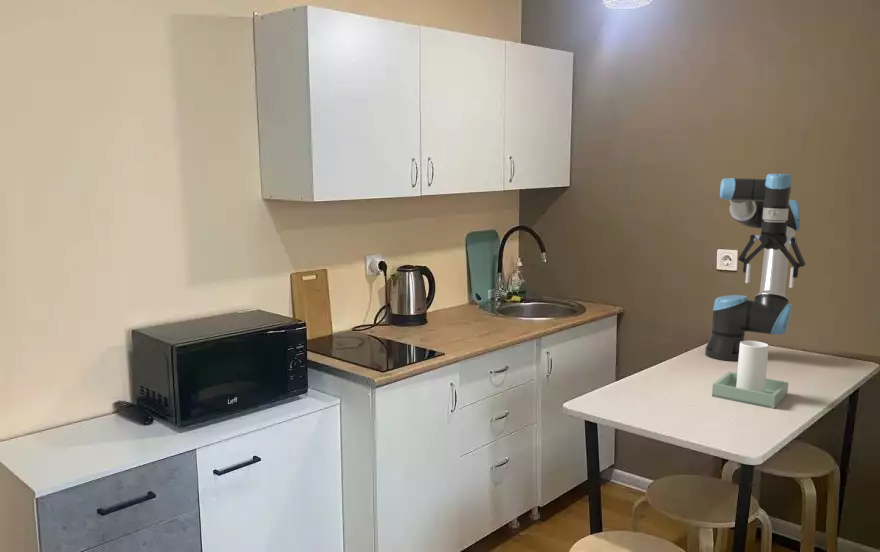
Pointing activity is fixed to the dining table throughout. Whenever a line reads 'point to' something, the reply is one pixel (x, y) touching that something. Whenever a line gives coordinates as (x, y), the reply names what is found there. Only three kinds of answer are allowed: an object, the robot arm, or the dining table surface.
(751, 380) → the cup
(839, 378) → the dining table surface
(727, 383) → the bin
